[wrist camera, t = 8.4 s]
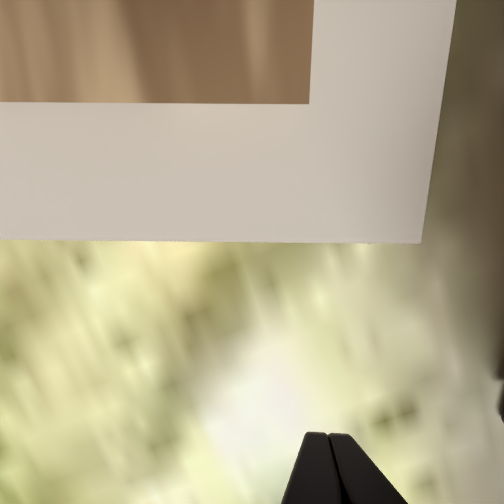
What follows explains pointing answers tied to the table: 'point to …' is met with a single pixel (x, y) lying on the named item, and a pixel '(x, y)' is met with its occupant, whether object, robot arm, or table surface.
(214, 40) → the oak tile
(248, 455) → the table surface
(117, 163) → the grey rubber mat
